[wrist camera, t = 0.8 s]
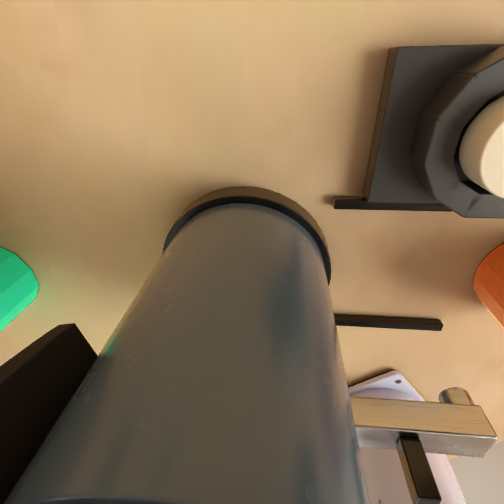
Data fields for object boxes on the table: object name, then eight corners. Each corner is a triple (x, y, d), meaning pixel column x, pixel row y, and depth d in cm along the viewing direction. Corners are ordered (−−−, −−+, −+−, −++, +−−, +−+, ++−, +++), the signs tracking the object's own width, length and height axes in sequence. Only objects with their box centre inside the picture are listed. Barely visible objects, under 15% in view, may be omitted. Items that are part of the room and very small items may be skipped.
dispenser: (495, 189, 17) (1427, 752, 3) (435, 330, 22) (668, 743, 9) (156, 184, 18) (-211, 530, 5) (181, 316, 24) (47, 644, 10)
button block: (633, 41, 13) (719, 36, 10) (550, 197, 16) (598, 221, 14) (389, 47, 14) (412, 44, 11) (362, 194, 17) (375, 216, 15)
